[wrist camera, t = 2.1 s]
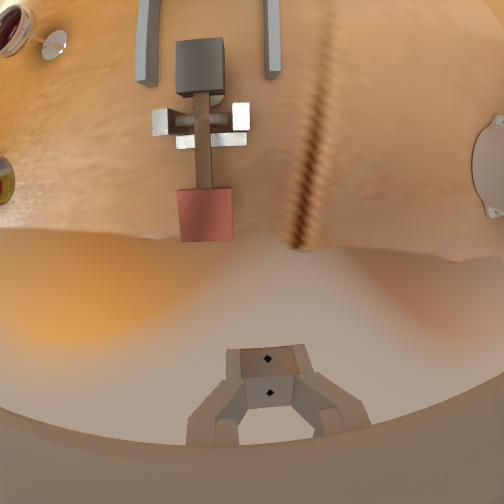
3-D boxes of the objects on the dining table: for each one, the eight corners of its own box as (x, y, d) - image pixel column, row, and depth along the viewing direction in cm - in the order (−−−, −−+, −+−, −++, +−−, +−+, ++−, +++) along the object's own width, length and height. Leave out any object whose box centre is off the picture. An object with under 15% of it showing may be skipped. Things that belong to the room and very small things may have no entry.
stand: (246, 111, 31) (249, 102, 22) (246, 145, 33) (249, 150, 24) (176, 115, 31) (151, 109, 22) (177, 148, 33) (153, 156, 23)
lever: (230, 62, 28) (228, 37, 19) (234, 214, 36) (233, 243, 27) (188, 65, 28) (170, 42, 19) (194, 216, 36) (179, 245, 27)
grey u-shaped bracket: (272, -16, 24) (276, -34, 20) (275, 79, 30) (280, 71, 25) (152, -7, 24) (142, -23, 19) (148, 87, 29) (134, 81, 25)
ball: (224, 80, 30) (223, 75, 27) (225, 107, 31) (223, 105, 28) (195, 82, 30) (191, 77, 26) (196, 109, 31) (191, 107, 28)
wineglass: (75, 49, 26) (25, 31, 15) (40, 74, 26) (-14, 67, 15) (69, 16, 23) (22, -7, 12) (34, 41, 24) (-15, 28, 13)
